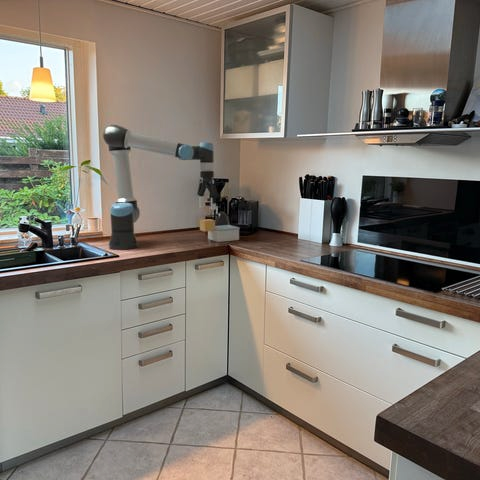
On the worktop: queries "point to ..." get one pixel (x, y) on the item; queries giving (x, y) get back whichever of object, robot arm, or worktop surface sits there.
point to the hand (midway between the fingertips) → (207, 208)
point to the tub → (223, 235)
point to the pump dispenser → (221, 219)
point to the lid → (210, 226)
